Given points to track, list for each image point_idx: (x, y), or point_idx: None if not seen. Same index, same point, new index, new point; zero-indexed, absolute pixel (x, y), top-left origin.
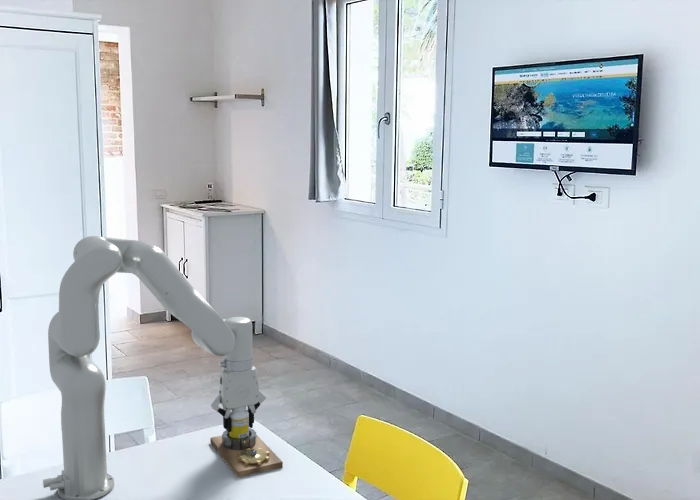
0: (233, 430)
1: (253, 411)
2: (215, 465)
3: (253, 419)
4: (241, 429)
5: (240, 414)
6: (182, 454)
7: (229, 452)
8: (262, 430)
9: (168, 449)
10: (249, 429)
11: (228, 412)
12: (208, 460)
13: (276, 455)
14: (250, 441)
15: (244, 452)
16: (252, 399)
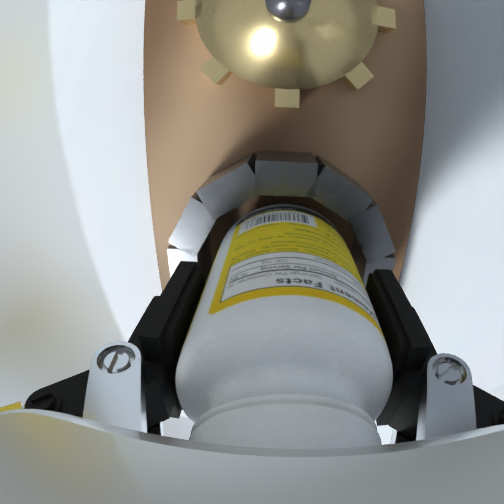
0: (355, 267)
1: (119, 360)
2: (460, 121)
3: (150, 312)
4: (298, 237)
5: (304, 357)
6: (496, 291)
7: (386, 159)
8: (128, 337)
9: (496, 341)
10: None
11: (448, 404)
12: (463, 188)
13: (145, 3)
14: (241, 162)
15: (329, 64)
16: (39, 502)
